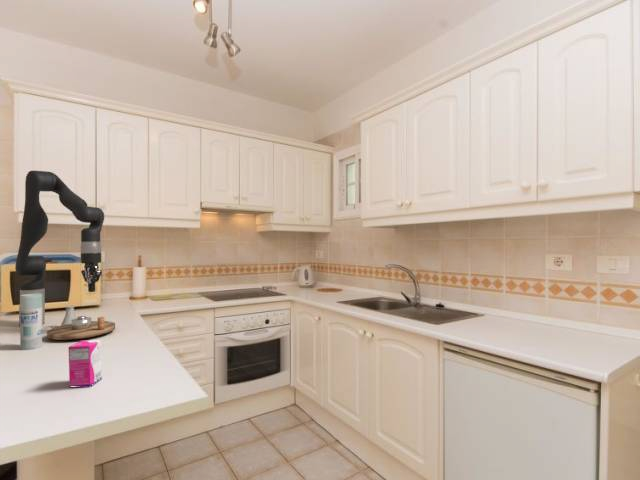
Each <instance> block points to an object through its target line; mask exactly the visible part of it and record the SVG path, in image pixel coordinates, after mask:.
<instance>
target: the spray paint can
mask: <svg viewBox="0 0 640 480" xmlns="http://www.w3.org/2000/svg"><path fill="white" fill-rule="evenodd" d="M19 306H20V325H19V327H20V329H19V330H20V331H19V332H20V334H19V336H20V347H19V348H20V350H22V351H30V350H36V349H39V348H41V347H42V345H43V324H42V294H40V293H36V294H25V295H21V296H20V295H19Z"/></svg>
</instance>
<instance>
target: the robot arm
mask: <svg viewBox="0 0 640 480" xmlns="http://www.w3.org/2000/svg"><path fill="white" fill-rule="evenodd" d="M24 183H25V184H24V185H25V186H24V187H25V192H24V195H25V198H24V206H23V207H24V208H23V210H24V211H23V215H22V221H21V222H22V223H21V231H20V241H19V248H18V250H17V256H16V259H15V260H16V261H15V269H14V270H15V273H16V274H17V275H18V276H20V277H23V276H34V277H33V278H31V279H30V280H28V281H24V282H22V283H20V285H19V297H20V296H21V295H25V294H36V293H40V294H42V325H44V324H45V323H46V322H45V321H46V319H45V318H46V317H45V316H46V315H45V314H46V312H45V311H46V309H45V307H46V306H45V304H46V300H45V299H46V296H45V292H46V291H45V290H46V288H45V287H46V284H45V283H46V270H47V262H46V258H45V256H43V255H29V254H30V252H31V251H32V249H33V248H34V246H35V245H36V244H37V243H39V242H40V241H41V240H42V239H43V238H44V237H45V235H46V234H47V231H48V226H49V225H48V224H49V217H48V215H47V213H46V211H45V210H44V208H43V206H42V205H41V201H40V193H41V192H49V193H50V192H52V193H55V194H57V196H58V199H59V202H60V203H61V204H62V206H63V207H65V208H66V209H67V210H69V211H70V212H71V213H72V214H73V216H74V218H75V219H76V220H78V221H79V222H82V223H89V226H88V227H86V228H83V229H82V230H81V231H80V242H81V244H80V263H81V264H84V266H83V267H84V270H83V269H82V270H81V271H80V273H81V275H82V278H83V280H84V282H85V283H87V292H88V293H94V292H96V283H97V282H99V280H100V278H101V276H102V273H103V271H102V270H100V269H99V263H102V244H101V232H102V228H103V225H104V222H105V212H104V211H103V210H102V208H100V207H95V206H88V203H87V202H86V200H85V199H83V198H82V197H81V196H79V195H78V194H77V193H75V192H74V191H72V190H71V189H70V188H69V187H68V185H66V183H64V181H63V180H62V179H61V178H60V177H59V176H58V175H57V174H56V173H54V172H52V171H47V170H45V171H44V170H30V171H28V172H27V174H26V176H25V182H24ZM18 307H19V308H18V323H19V324H18V326H20V305H19V306H18Z"/></svg>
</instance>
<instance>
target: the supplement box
mask: <svg viewBox="0 0 640 480" xmlns="http://www.w3.org/2000/svg"><path fill="white" fill-rule="evenodd" d="M101 343H102V341H101V339H94V340H93V339H91V340H90V339H89V340H80V341H78V342H76V343H74V344H72V345H70V346H68V369H69V370H68V373H69V374H68V375H69V379H68V380H69V387H70V386H91V385H92V384H94V383H95V382H96V381H98V380H99V379H101V378H102V379H103V374H102V345H101ZM102 379H101V380H102ZM99 381H100V380H99ZM99 381H98V382H99ZM95 384H96V383H95ZM95 384H94V385H95ZM91 387H92V386H91Z"/></svg>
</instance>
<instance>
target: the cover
mask: <svg viewBox="0 0 640 480" xmlns="http://www.w3.org/2000/svg"><path fill="white" fill-rule="evenodd" d="M91 321H92V317H90V316H86V315H79V316H77V317H76V319H72V330H82V329H87V328H91Z"/></svg>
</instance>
